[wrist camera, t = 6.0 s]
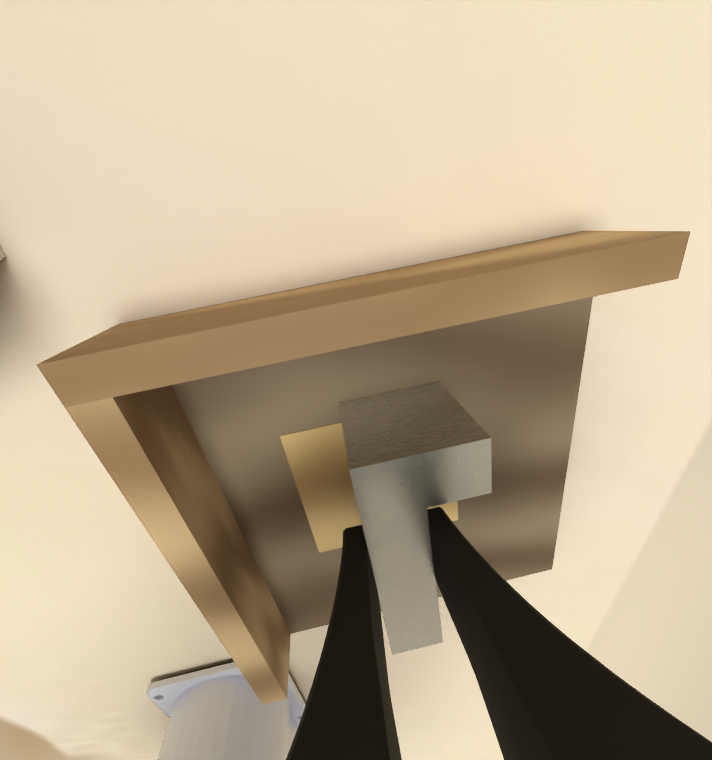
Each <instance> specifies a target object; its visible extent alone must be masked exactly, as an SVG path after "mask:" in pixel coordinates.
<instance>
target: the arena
mask: <svg viewBox="0 0 712 760" xmlns="http://www.w3.org/2000/svg"><path fill="white" fill-rule="evenodd" d="M592 298H593V297H588V298H583V299H579V300H574V301H569V302H564V303H560V304H555V305H550V306H545V307H540V308H536V309H531V310H526V311H521V312H517V313H512V314H507V315H502V316H498V317H493V318H488V319H483V320H479V321H474V322H469V323H464V324H460V325H455V326H450V327H445V328H441V329H436V330H431V331H426V332H422V333H417V334H412V335H407V336H403V337H398V338H393V339H388V340H383V341H379V342H374V343H369V344H364V345H360V346H355V347H350V348H345V349H341V350H336V351H331V352H326V353H322V354H317V355H312V356H307V357H303V358H298V359H293V360H288V361H284V362H279V363H274V364H269V365H265V366H260V367H255V368H250V369H245V370H241V371H236V372H231V373H226V374H222V375H217V376H212V377H207V378H203V379H198V380H193V381H188V382H184V383H179V384H174V385H172V388H173V390H174V392H175V394H176V396H177V398H178V400H179V402H180V404H181V406H182V408H183V411H184V413H185V415H186V417H187V419H188V421H189V423H190V425H191V427H192V429H193V431H194V433H195V436H196V438H197V440H198V442H199V444H200V446H201V448H202V450H203V452H204V454H205V456H206V459H207V461H208V463H209V465H210V467H211V469H212V471H213V473H214V475H215V477H216V479H217V481H218V484H219V486H220V488H221V490H222V492H223V494H224V496H225V498H226V500H227V502H228V504H229V507H230V509H231V511H232V513H233V515H234V517H235V519H236V521H237V523H238V525H239V527H240V529H241V532H242V534H243V536H244V538H245V540H246V542H247V544H248V546H249V548H250V550H251V552H252V555H253V557H254V559H255V561H256V563H257V565H258V567H259V569H260V571H261V573H262V575H263V577H264V580H265V582H266V584H267V586H268V588H269V590H270V592H271V594H272V596H273V598H274V600H275V603H276V605H277V607H278V609H279V611H280V613H281V615H282V617H283V619H284V621H285V623H286V625H287V628H288V630H289V632H290V634H291V633H295V632H299V631H303V630H307V629H311V628H315V627H319V626H323V625H327V624H329V622H330V618H331V613H332V609H333V605H334V600H335V595H336V589H337V583H338V578H339V572H340V564H341V556H342V545H343V531H344V530H345V528H349V527H354V526H358V525H362V523H361V519H360V515H359V510H358V506H357V502H356V497H355V493H354V489H353V485H352V480H351V476H350V472H349V466H348V460H347V454H346V448H345V441H344V435H343V429H342V422H341V416H340V410H339V404H338V403H340V402H345V401H349V400H354V399H359V398H363V397H368V396H373V395H377V394H382V393H386V392H391V391H396V390H400V389H405V388H409V387H414V386H419V385H423V384H428V383H433V382H437V381H440V382H441V383H442V385H443V386H444V387H445V388H446V389H447V390H448V391H449V392H450V393H451V394H452V395H453V397H454V398H455V399H456V400H457V401H458V402H459V403H460V404H461V405H462V406H463V408H464V409H465V410H466V411H467V412H468V413H469V414H470V415H471V416H472V417H473V418H474V420H475V421H476V422H477V423H478V424H479V425H480V426H481V427H482V428H483V429H484V430H485V432H486V433H487V434H488V435H489V436H490V437H491V475H492V493H489V494H484V495H480V496H476V497H472V498H467V499H463V500H459V501H454V502H450V503H446V504H442V505H437V506H433V507H429V508H427V509H431V508H435V507H441V508H443V510H444V511H445V513H446V514H447V515H448V517H449V518H450V519H451V521H452V522H453V523H454V525H455V526H456V527H457V528H458V529H459V531H460V532H461V533H462V534H463V535H464V537H465V538H466V539H467V540H468V541H469V543H470V544H471V545H472V546H473V547H474V548H475V549H476V550H477V551H478V553H479V554H480V555H481V556H482V557H483V558H484V559H485V560H486V561H487V562H488V563H489V564H490V566H491V567H492V568H493V569H494V570H495V571H496V572H497V573H498V574H499V575H500V576H501V577H502V578H503V579H504V580H509V579H514V578H518V577H522V576H526V575H530V574H534V573H538V572H542V571H546V570H550V569H552V565H553V558H554V552H555V545H556V538H557V532H558V525H559V518H560V512H561V505H562V498H563V492H564V485H565V478H566V472H567V465H568V458H569V452H570V445H571V438H572V432H573V425H574V418H575V412H576V405H577V398H578V392H579V385H580V378H581V372H582V365H583V358H584V352H585V345H586V338H587V332H588V325H589V318H590V312H591V305H592ZM435 580H436V579H435ZM436 588H437V597H441V596H442V594H441V592H440V589H439V587H438V584H437V582H436ZM379 603H380V600H379ZM380 611H382V609H381V604H380Z"/></svg>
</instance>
